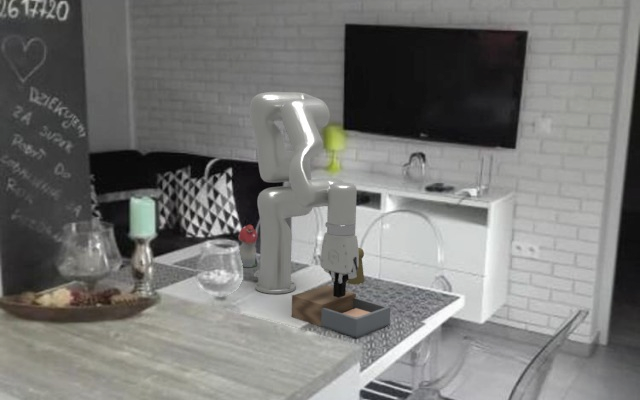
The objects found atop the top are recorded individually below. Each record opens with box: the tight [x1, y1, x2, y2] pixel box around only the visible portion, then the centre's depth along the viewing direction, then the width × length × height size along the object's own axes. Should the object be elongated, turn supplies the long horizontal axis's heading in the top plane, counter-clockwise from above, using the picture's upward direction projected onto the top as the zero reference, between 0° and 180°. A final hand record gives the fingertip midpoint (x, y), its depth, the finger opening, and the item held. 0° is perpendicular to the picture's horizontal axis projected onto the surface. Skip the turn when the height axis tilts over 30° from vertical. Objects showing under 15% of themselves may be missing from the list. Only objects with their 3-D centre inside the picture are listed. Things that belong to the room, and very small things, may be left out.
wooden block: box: [291, 284, 357, 327], centre depth 197 cm, size 11×14×6 cm
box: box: [320, 296, 391, 339], centre depth 189 cm, size 12×14×5 cm
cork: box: [346, 247, 365, 285], centre depth 230 cm, size 6×6×11 cm
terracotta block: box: [343, 308, 371, 318], centre depth 189 cm, size 6×6×3 cm
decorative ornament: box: [238, 224, 258, 268], centre depth 246 cm, size 9×6×15 cm
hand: (339, 295), depth 193 cm, fingers closed
